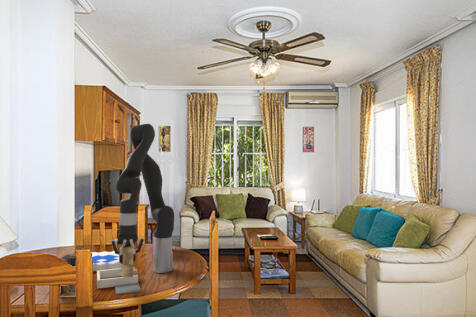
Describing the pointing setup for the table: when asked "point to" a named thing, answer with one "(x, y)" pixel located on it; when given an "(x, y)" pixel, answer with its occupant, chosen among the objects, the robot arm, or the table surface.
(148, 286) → the table surface
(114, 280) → the u-shaped fence
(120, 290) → the mat
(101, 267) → the pixel art tile
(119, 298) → the table surface
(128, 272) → the tan upright block
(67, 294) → the coffee box
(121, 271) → the offcut upper
